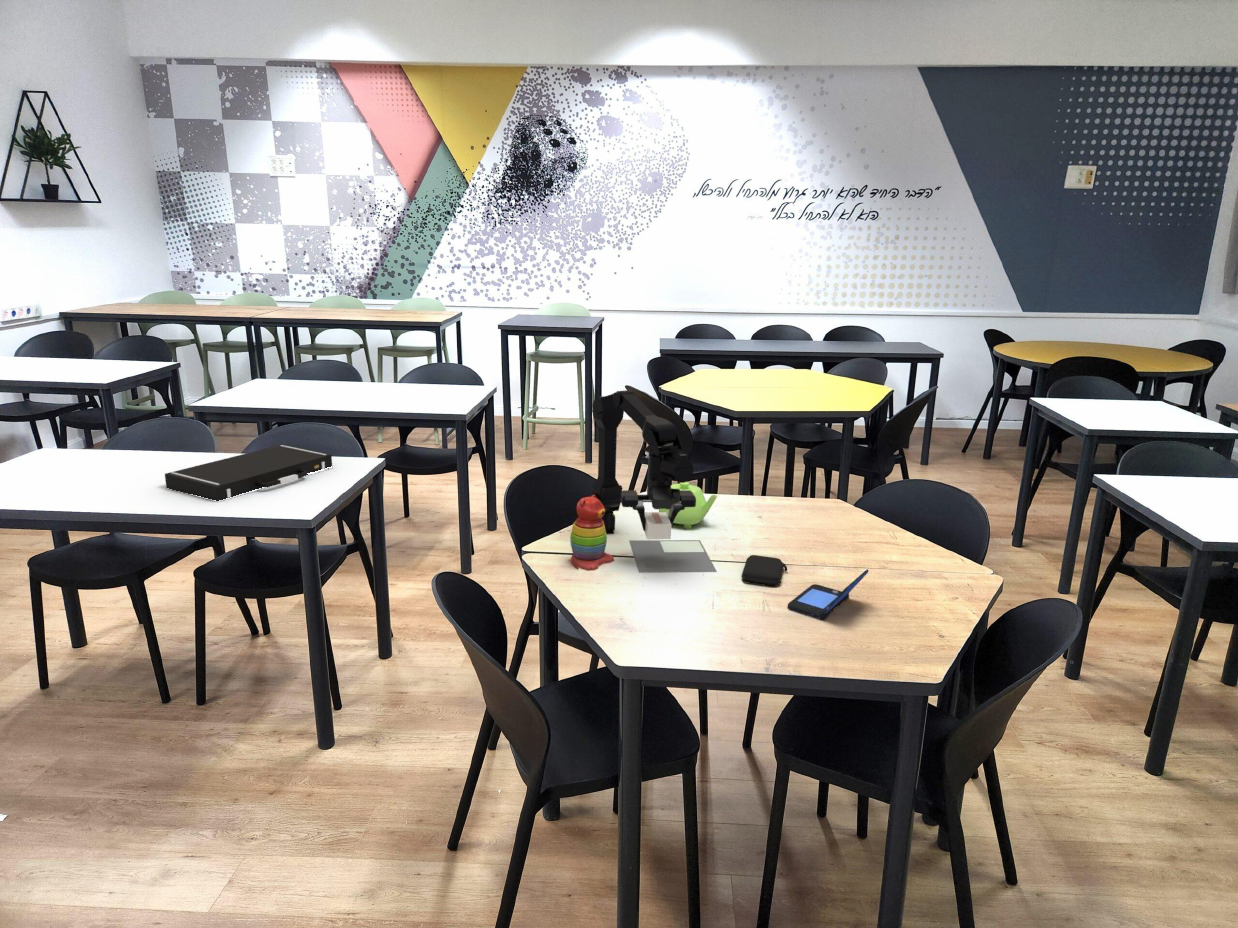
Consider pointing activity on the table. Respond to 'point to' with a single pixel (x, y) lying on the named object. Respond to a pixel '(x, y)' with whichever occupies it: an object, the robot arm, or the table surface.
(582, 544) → the stacking bear
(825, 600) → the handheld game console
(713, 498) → the teapot
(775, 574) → the carrying case or bag
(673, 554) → the mat
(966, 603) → the table surface
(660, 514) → the box
